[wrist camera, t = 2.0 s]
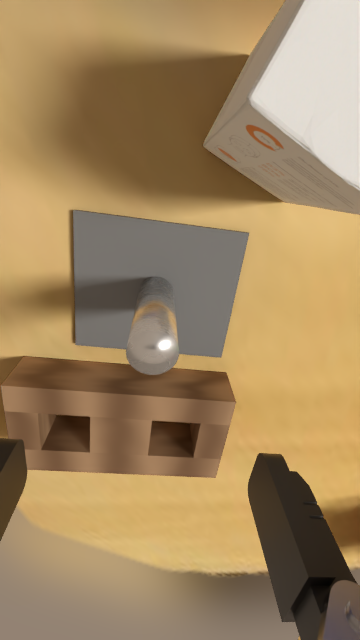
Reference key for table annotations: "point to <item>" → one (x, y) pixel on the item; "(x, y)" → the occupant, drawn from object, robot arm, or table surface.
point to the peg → (153, 329)
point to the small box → (299, 108)
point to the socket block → (117, 417)
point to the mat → (154, 261)
